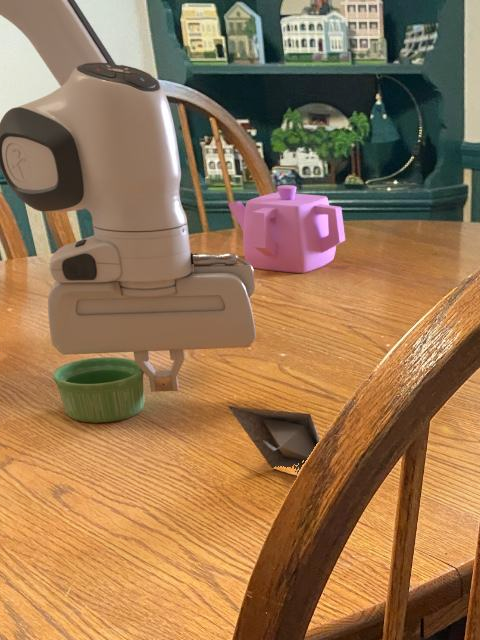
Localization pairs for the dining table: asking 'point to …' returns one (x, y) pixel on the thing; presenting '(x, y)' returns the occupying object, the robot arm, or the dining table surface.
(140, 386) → the ramekin
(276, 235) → the teakettle
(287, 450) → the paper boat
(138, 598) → the dining table surface
